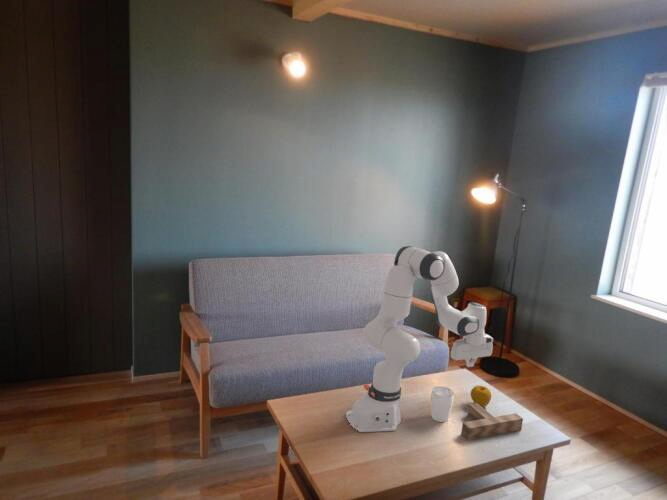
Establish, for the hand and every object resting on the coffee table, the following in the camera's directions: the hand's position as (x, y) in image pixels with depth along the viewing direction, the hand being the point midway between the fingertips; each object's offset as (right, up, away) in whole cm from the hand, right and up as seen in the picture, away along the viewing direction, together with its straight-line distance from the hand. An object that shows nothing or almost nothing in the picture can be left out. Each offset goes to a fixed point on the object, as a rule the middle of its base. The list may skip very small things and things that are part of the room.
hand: (469, 366), depth 207 cm
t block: (-1, -19, -21) cm, 28 cm away
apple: (+2, -16, -6) cm, 17 cm away
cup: (-18, -17, -18) cm, 31 cm away
